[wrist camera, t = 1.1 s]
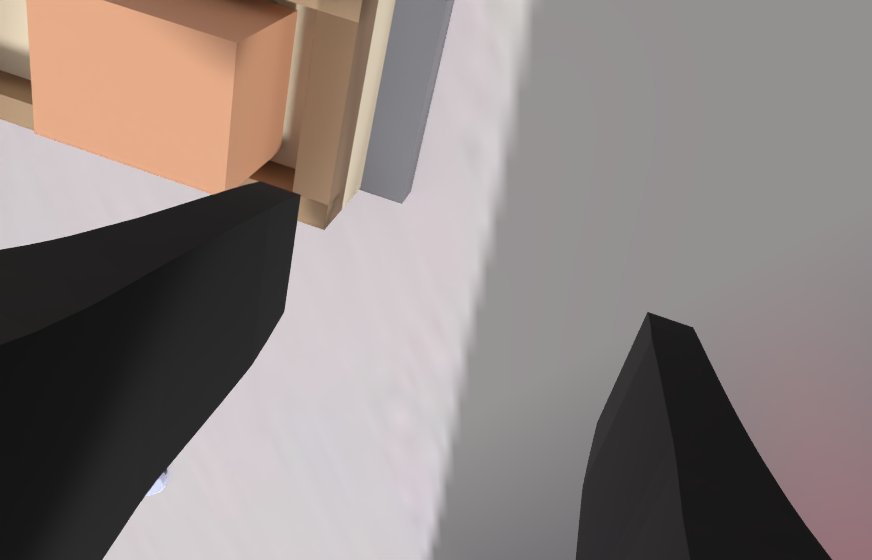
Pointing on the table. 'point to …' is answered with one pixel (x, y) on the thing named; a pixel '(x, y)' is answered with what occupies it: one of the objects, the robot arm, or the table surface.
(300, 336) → the table surface
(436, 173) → the table surface
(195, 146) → the block
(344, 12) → the balance beam
